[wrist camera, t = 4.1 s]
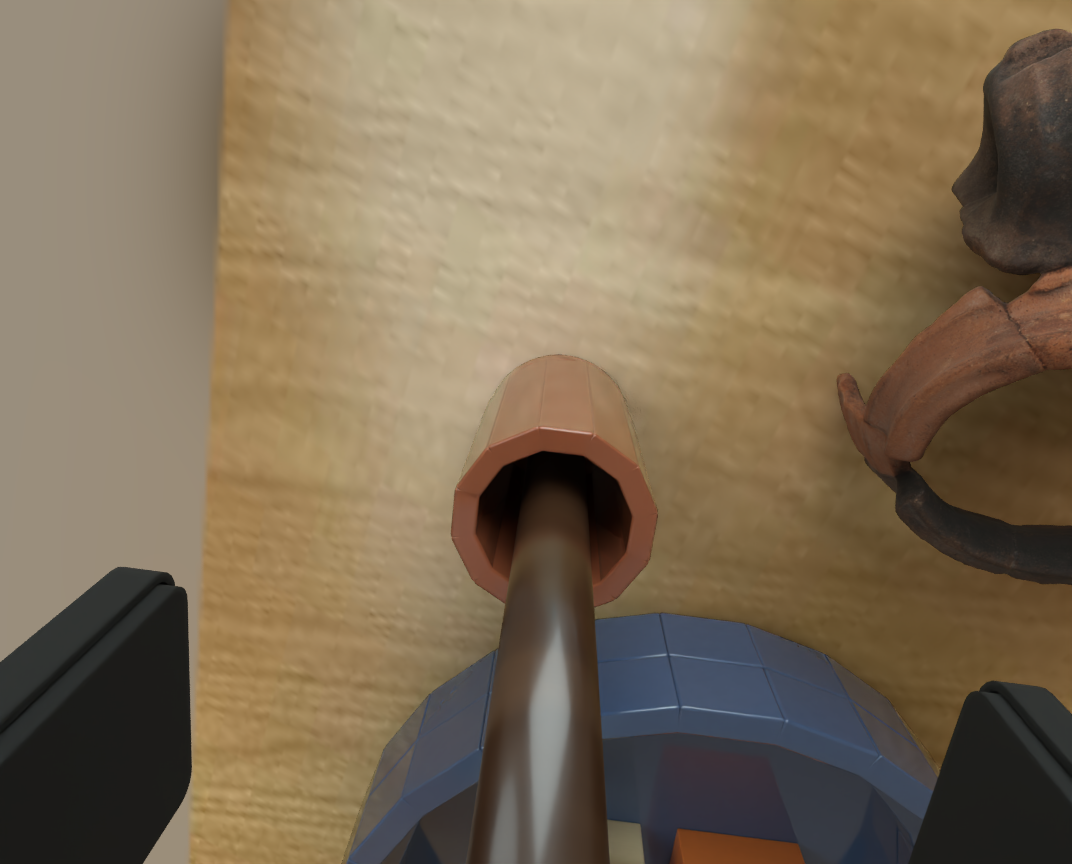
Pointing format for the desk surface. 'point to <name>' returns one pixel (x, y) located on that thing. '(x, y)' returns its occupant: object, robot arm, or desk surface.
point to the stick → (545, 688)
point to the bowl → (680, 751)
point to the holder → (561, 427)
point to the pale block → (625, 843)
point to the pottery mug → (989, 314)
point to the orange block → (731, 849)
